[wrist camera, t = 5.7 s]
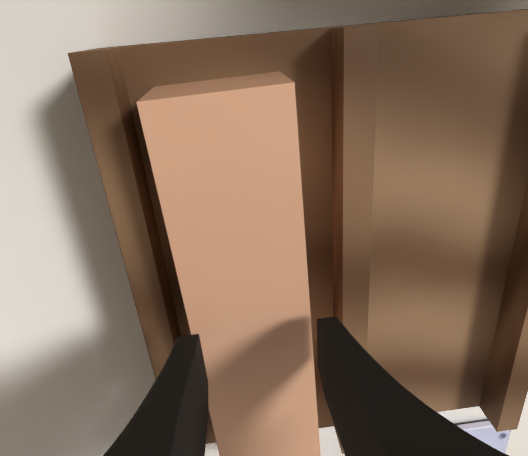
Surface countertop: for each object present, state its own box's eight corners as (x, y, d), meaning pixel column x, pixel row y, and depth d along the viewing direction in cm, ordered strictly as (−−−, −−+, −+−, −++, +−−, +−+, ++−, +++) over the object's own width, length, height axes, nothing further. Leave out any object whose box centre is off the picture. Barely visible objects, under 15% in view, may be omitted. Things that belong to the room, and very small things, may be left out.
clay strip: (308, 417, 20) (321, 476, 18) (227, 429, 20) (228, 491, 17) (279, 71, 13) (294, 82, 10) (153, 86, 13) (136, 102, 10)
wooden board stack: (481, 380, 22) (517, 428, 20) (186, 420, 22) (181, 476, 19) (559, 6, 14) (636, 0, 12) (97, 48, 14) (67, 53, 11)
